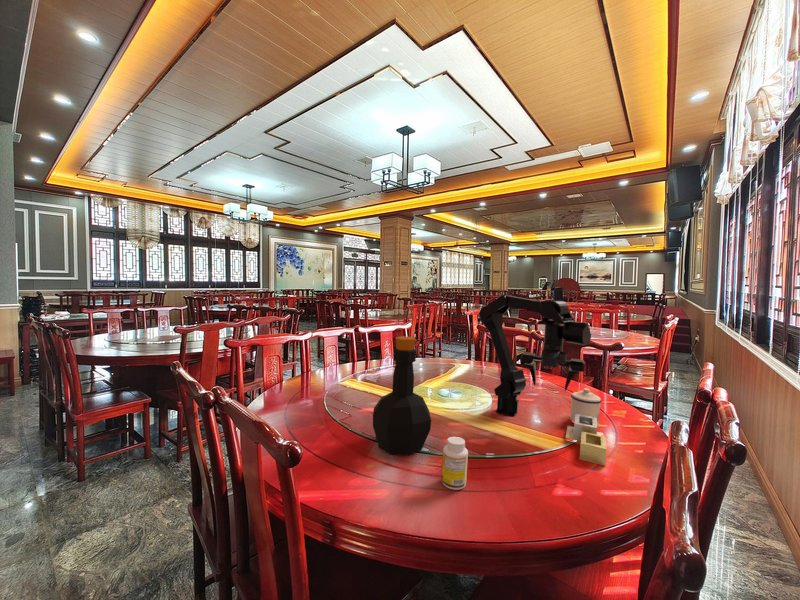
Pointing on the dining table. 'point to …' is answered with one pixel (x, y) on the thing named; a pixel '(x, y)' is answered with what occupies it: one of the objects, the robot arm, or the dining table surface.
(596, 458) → the link
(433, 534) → the dining table surface
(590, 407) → the teacup with lid
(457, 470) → the supplement bottle
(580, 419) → the link
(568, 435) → the keeper
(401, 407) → the bottle
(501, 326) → the robot arm
